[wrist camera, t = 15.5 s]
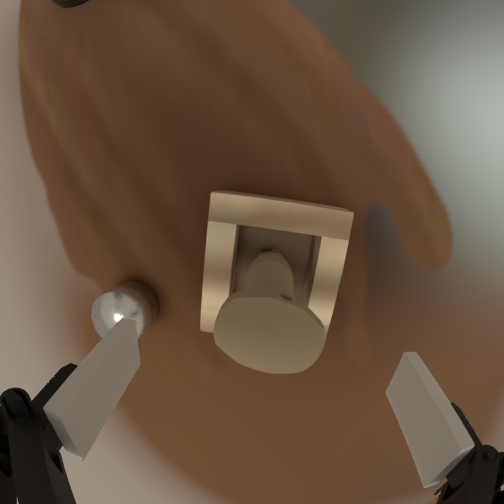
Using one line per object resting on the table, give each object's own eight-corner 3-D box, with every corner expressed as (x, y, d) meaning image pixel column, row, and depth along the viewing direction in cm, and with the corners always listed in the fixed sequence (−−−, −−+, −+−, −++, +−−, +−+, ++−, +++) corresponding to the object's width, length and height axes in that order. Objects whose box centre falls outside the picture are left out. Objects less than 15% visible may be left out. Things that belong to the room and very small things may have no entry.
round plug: (135, 335, 33) (115, 355, 27) (107, 297, 33) (82, 311, 27) (168, 312, 33) (150, 330, 27) (138, 271, 32) (115, 282, 26)
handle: (289, 292, 31) (302, 383, 16) (233, 271, 31) (203, 351, 16) (307, 252, 30) (339, 321, 15) (250, 229, 29) (230, 281, 15)
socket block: (221, 189, 29) (211, 192, 24) (340, 207, 28) (353, 212, 24) (209, 309, 32) (200, 330, 28) (316, 323, 32) (323, 346, 27)
